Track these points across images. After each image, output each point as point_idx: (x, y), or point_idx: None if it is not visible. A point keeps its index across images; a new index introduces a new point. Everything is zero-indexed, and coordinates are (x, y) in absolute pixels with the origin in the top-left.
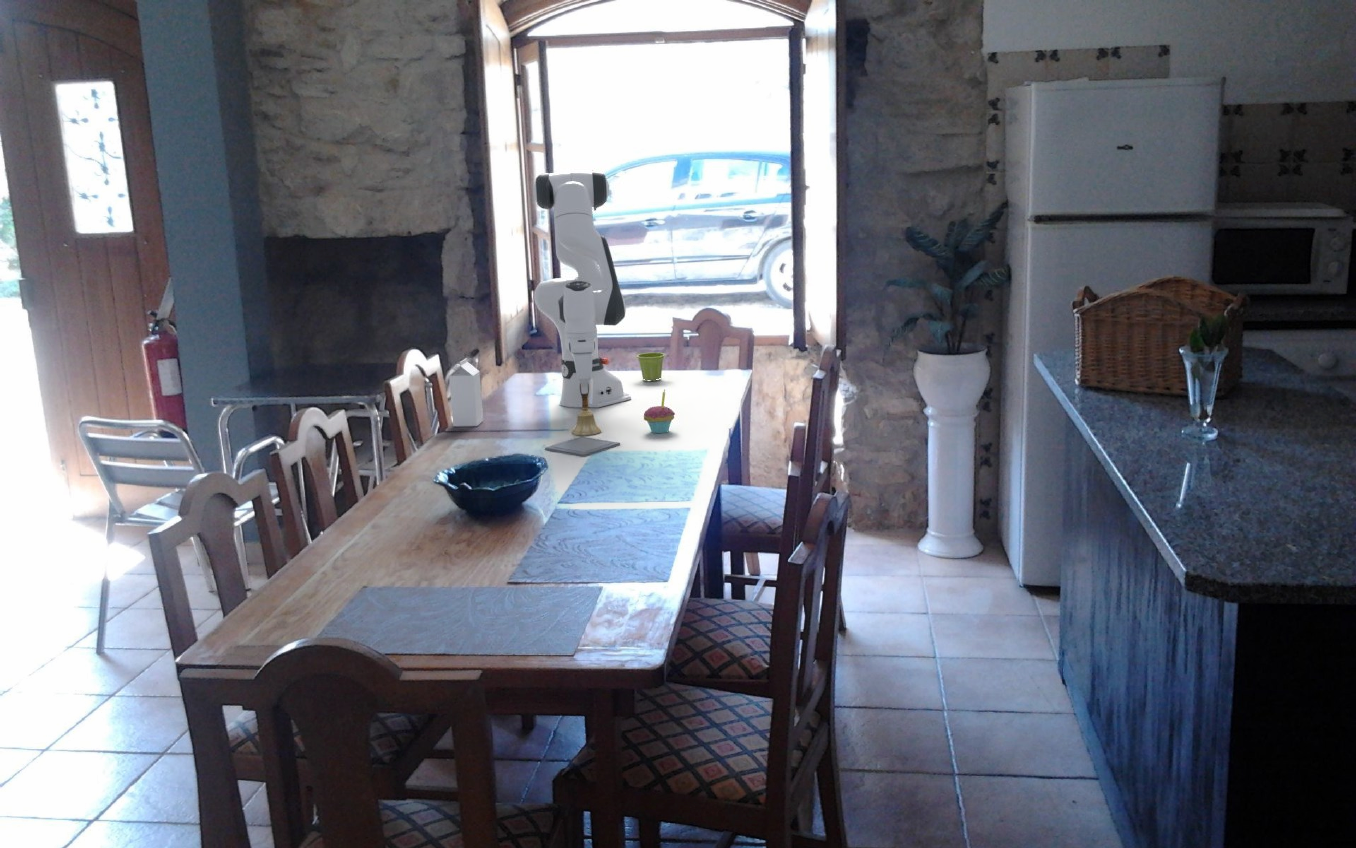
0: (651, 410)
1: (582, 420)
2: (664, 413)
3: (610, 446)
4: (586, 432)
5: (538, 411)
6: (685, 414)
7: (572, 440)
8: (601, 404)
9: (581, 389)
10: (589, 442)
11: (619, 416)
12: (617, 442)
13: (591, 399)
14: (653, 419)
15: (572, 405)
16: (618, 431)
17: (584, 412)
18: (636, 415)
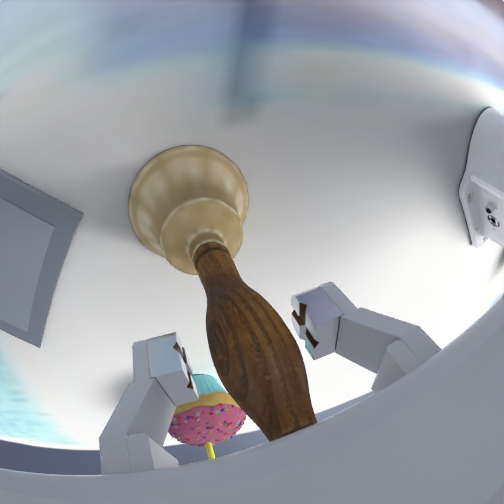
0: (188, 431)
1: (156, 223)
2: (180, 441)
3: (6, 330)
4: (135, 223)
5: (462, 49)
6: (341, 371)
7: (21, 201)
8: (464, 200)
9: (135, 367)
10: (8, 272)
11: (379, 259)
12: (39, 342)
13: (478, 183)
14: None
15: (476, 133)
16: (197, 307)
17: (181, 247)
18: (373, 294)
